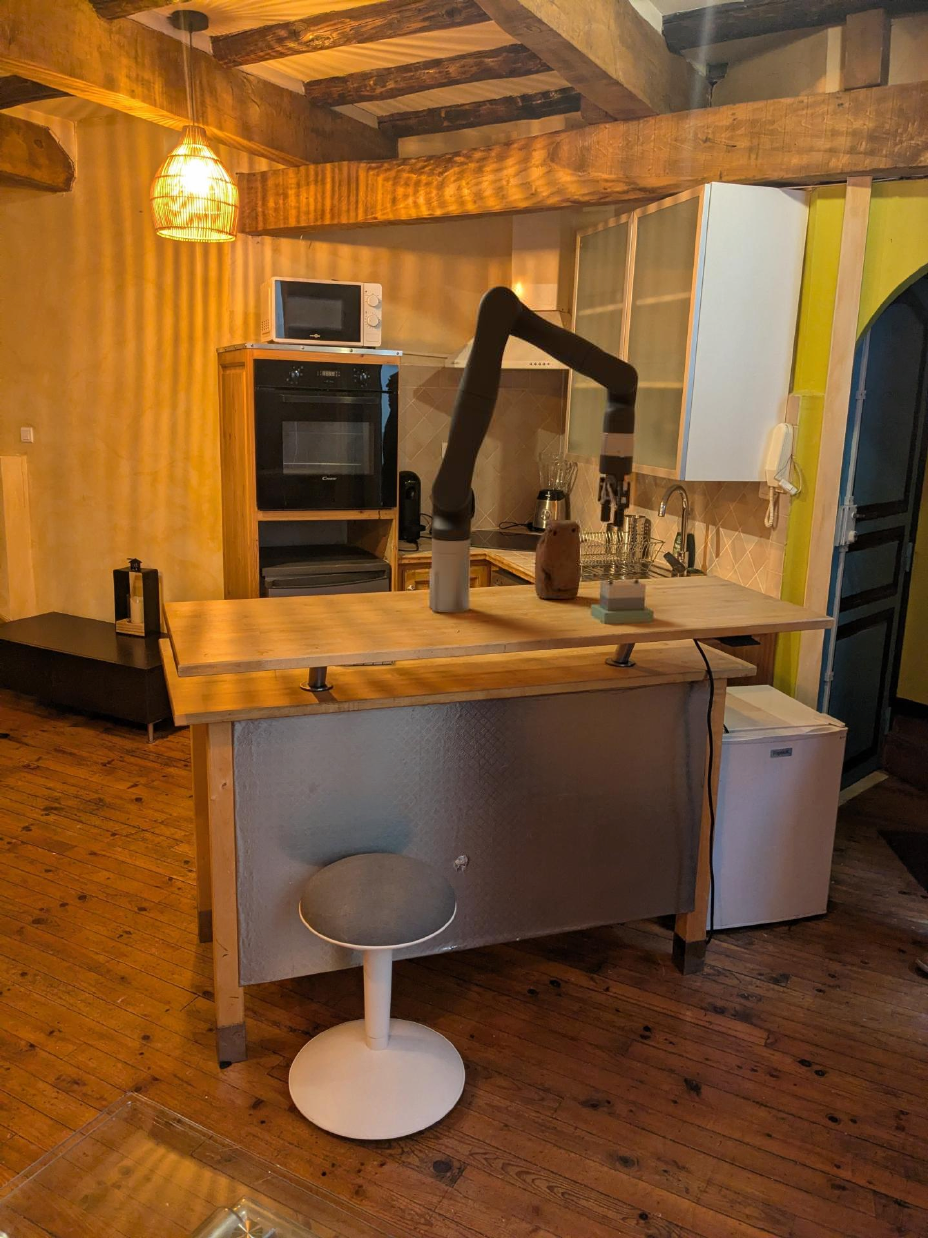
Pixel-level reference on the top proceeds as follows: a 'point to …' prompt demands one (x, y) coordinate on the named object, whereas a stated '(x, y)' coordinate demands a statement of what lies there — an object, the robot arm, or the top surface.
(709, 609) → the top surface
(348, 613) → the top surface
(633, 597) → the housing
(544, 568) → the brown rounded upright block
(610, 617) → the stand
